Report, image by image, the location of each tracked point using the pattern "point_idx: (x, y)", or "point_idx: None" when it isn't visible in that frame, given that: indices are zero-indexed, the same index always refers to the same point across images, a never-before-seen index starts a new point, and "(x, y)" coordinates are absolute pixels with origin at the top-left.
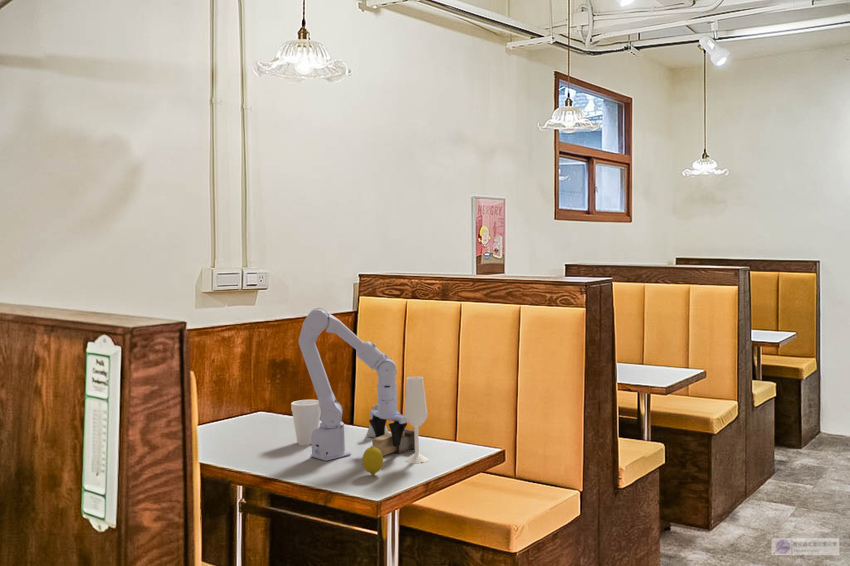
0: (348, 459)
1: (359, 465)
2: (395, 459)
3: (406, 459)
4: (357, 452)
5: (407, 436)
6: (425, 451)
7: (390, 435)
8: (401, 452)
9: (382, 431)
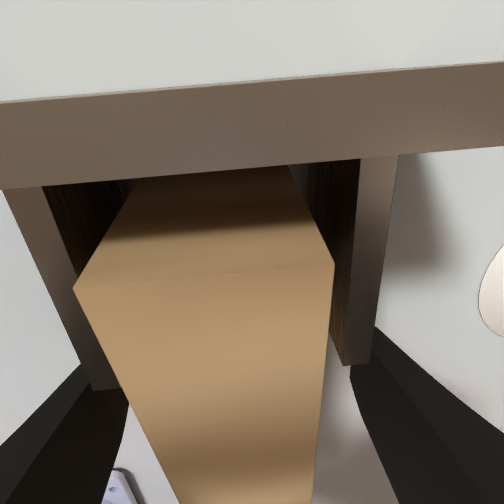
0: None
1: (329, 497)
2: None
3: (487, 318)
4: None
5: (364, 201)
6: (488, 5)
7: (265, 444)
8: None
9: (53, 480)
